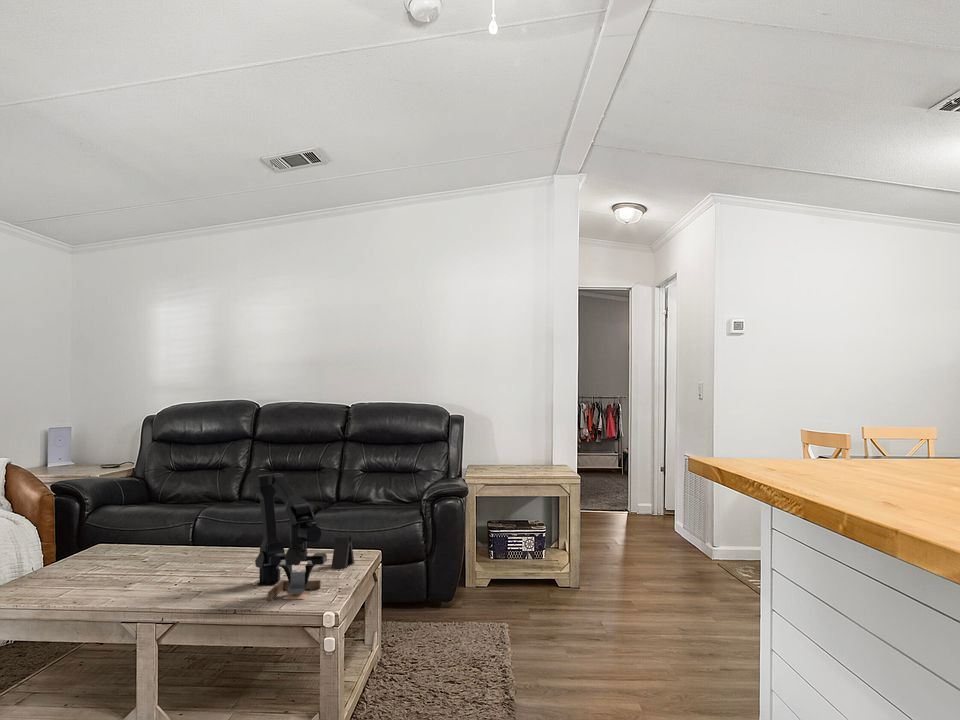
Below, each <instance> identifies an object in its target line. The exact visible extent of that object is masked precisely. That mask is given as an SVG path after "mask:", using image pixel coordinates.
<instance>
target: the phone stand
mask: <svg viewBox="0 0 960 720" xmlns="http://www.w3.org/2000/svg"><path fill="white" fill-rule="evenodd" d="M352 543H353V542H352V536H351V535H340V534H337V535H335V537H334V547H333V552H332V554H333V555H332V561H331V566H330V568H331V569H341V568H346V569H347V567H348V566H349V567H351V566H352V564H353V565H354V564H355V557H354V552H353V544H352ZM350 565H351V566H350ZM349 567H348V568H349Z"/></svg>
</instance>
